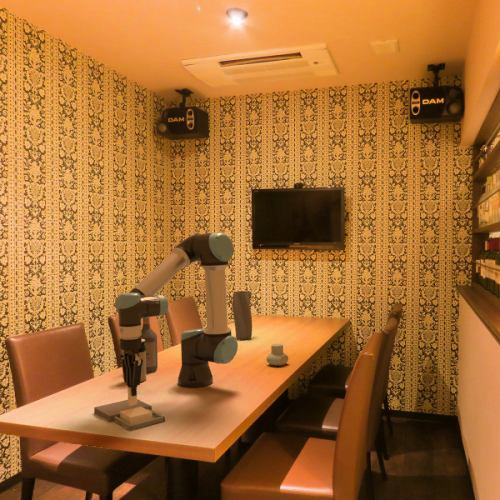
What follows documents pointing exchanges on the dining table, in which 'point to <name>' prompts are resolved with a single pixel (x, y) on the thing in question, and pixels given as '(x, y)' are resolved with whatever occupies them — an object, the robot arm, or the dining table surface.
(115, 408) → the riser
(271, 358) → the air freshener
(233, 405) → the dining table surface
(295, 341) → the dining table surface
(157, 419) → the tray
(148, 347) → the liquor
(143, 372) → the travel mug
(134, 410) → the coaster
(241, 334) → the vase
